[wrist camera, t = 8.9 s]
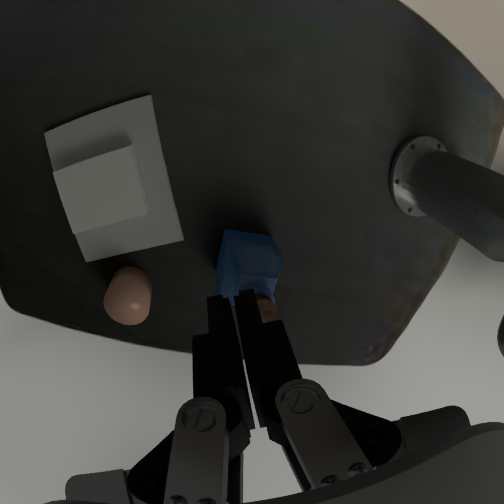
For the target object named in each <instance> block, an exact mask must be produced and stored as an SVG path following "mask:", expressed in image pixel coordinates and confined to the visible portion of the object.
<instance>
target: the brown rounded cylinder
mask: <svg viewBox="0 0 504 504" xmlns="http://www.w3.org/2000/svg"><path fill="white" fill-rule="evenodd" d="M152 289H153V284H152V280H151V278H150V277H149V275H148V274H147V273H146V272H145V271H143V270H142V269H140V268H137V267H133V266H126V267H122V268H120V269H118V270H117V271H116V272H115V273H114V275H113V277H112V280H111V282H110V285H109V287H108V290H107V292H106V295H105V297H104V307H105V310H106V312H107V313H108V315H109V316H110V317H111V318H112V319H114V320H115V321H117V322H119V323H122V324H126V325H134V324H138V323H140V322H142V321H143V320H145V319H146V317H147V316H148V313H149V308H150V302H151V296H152Z"/></svg>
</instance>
